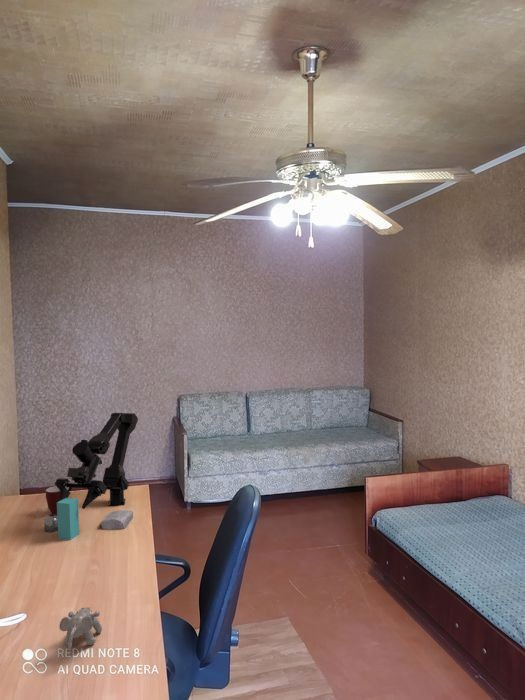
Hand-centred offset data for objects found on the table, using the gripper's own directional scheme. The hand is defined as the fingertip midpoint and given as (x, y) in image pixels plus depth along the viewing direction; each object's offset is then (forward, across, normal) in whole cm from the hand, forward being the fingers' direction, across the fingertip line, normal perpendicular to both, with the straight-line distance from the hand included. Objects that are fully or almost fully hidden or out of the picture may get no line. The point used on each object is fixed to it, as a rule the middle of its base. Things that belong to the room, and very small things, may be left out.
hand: (71, 507), depth 178 cm
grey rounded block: (+6, -10, +8) cm, 14 cm away
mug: (-6, -19, +19) cm, 28 cm away
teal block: (+8, 0, +5) cm, 10 cm away
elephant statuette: (+46, +40, -31) cm, 69 cm away
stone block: (-1, +11, +16) cm, 19 cm away
